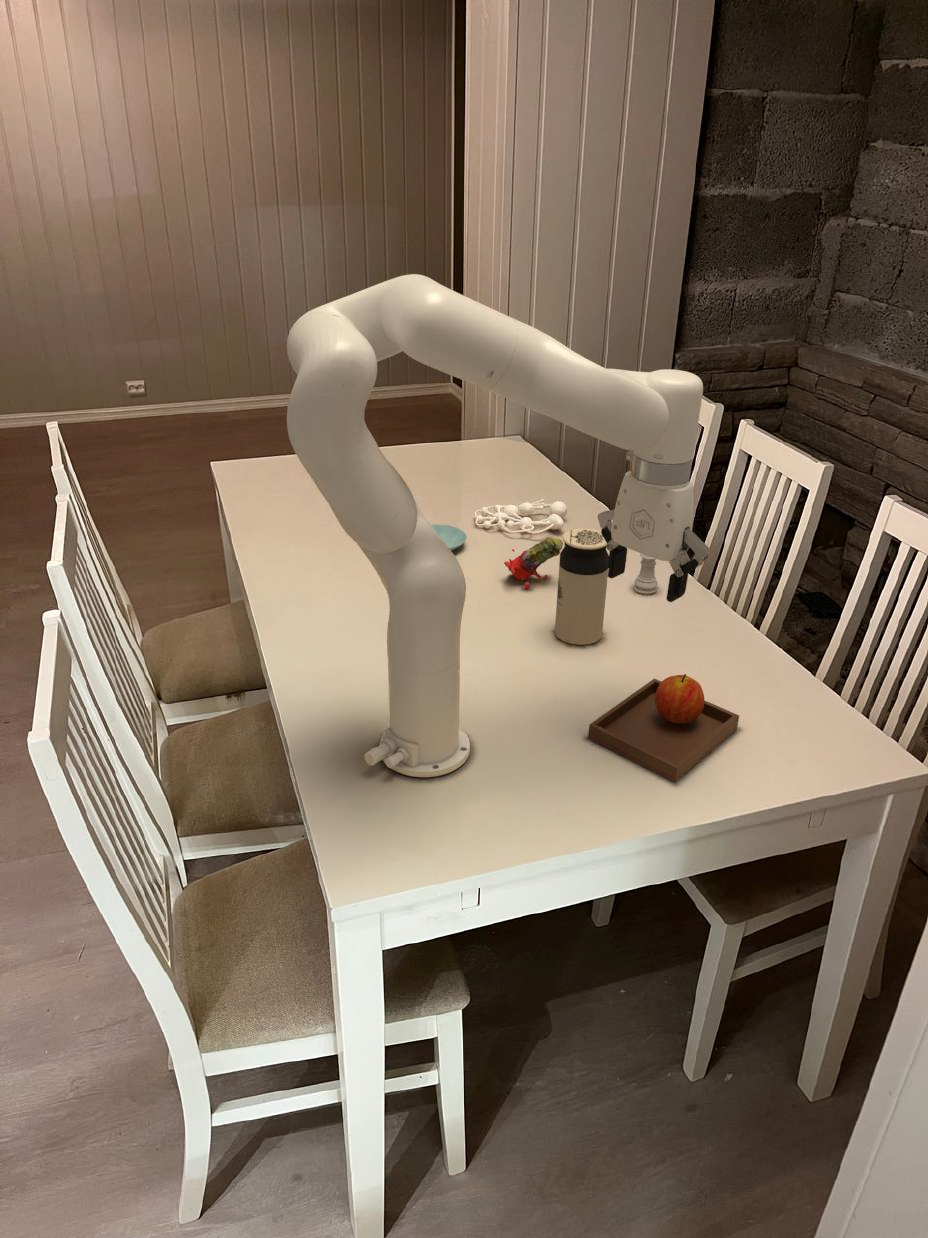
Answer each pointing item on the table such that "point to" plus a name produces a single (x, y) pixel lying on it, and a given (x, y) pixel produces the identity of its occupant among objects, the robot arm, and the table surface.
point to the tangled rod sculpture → (525, 524)
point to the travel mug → (581, 587)
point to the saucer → (450, 535)
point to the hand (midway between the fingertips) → (644, 586)
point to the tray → (661, 733)
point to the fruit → (679, 699)
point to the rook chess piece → (646, 576)
